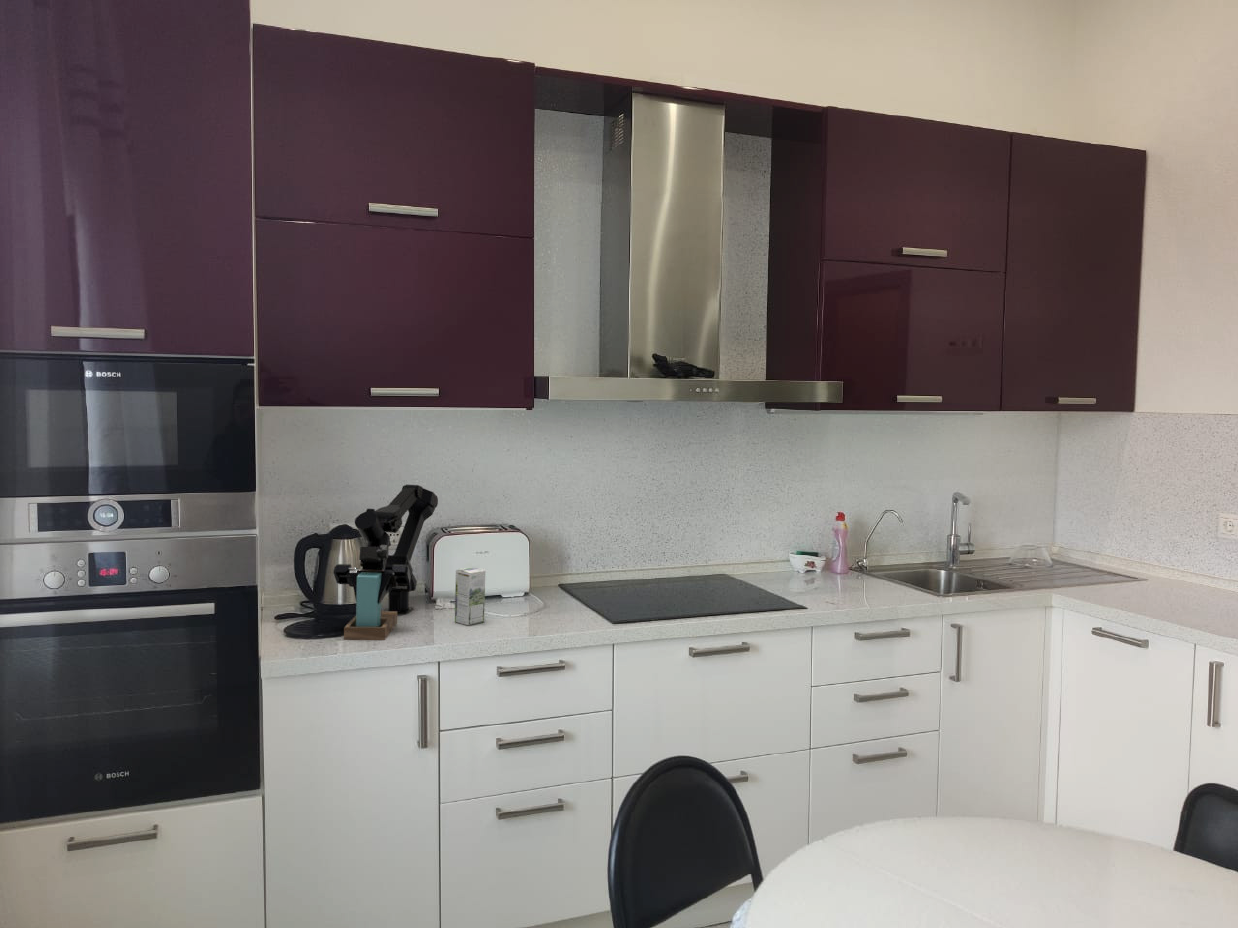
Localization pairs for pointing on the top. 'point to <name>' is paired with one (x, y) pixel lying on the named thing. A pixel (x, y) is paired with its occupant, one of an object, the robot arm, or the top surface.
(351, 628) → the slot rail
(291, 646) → the top surface
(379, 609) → the teal peg block
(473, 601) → the syrup box
